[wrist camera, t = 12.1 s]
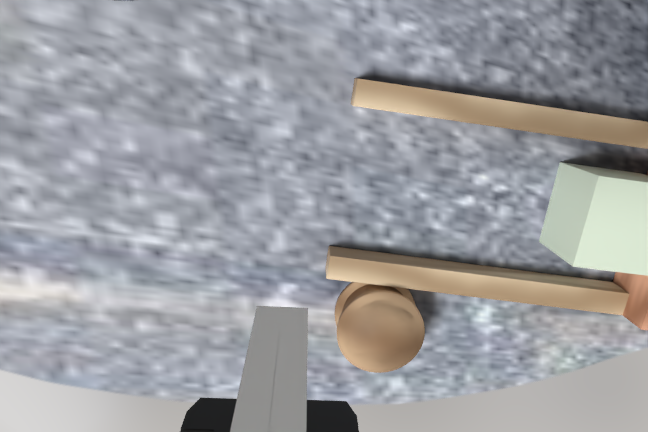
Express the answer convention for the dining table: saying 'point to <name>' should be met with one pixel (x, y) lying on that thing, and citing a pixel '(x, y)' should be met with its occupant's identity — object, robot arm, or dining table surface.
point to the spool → (378, 326)
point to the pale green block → (598, 219)
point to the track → (485, 281)
